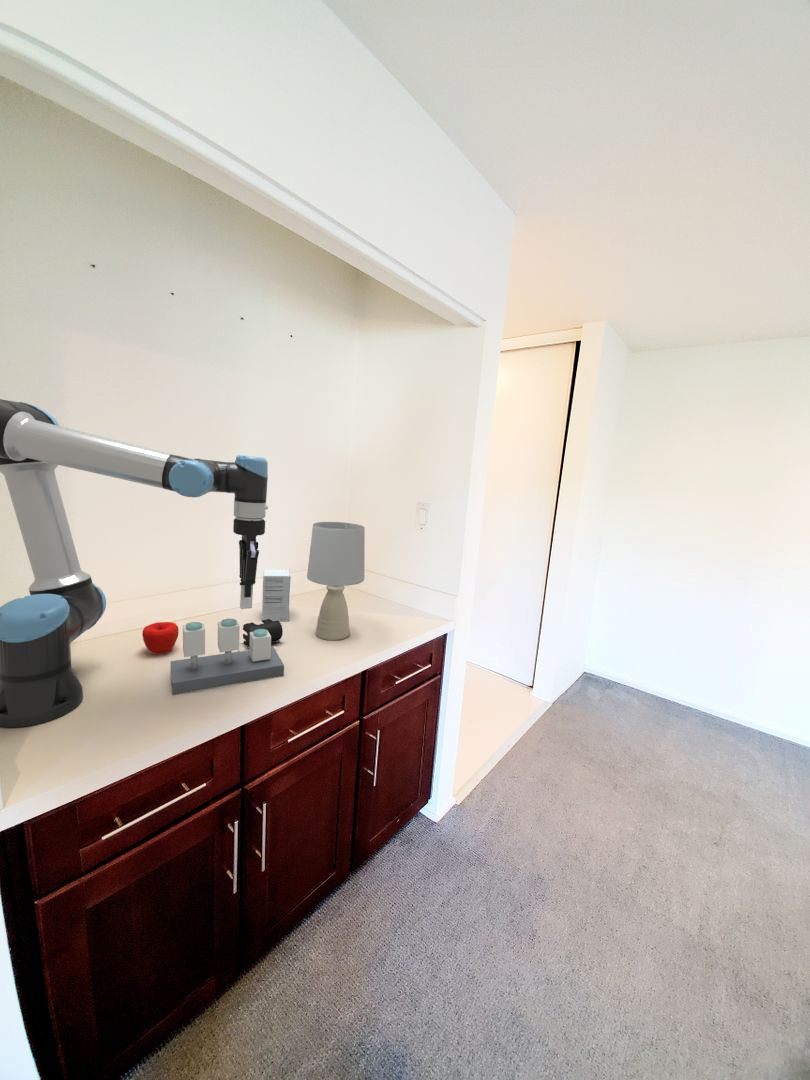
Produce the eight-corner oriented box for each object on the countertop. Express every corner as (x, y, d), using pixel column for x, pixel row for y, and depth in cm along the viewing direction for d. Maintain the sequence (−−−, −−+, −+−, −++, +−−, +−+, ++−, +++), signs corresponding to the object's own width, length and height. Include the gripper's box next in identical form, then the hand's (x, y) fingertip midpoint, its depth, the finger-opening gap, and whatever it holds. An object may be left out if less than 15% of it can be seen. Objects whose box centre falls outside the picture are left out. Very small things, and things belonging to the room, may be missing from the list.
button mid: (219, 652, 107) (220, 625, 106) (217, 645, 111) (217, 618, 110) (239, 649, 109) (239, 623, 108) (236, 642, 113) (236, 617, 112)
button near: (184, 657, 103) (184, 629, 102) (183, 649, 107) (182, 622, 105) (205, 654, 105) (205, 626, 104) (203, 646, 109) (203, 620, 108)
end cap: (251, 651, 125) (252, 630, 124) (241, 643, 130) (241, 622, 129) (282, 643, 132) (283, 623, 131) (271, 636, 137) (272, 616, 136)
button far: (252, 661, 112) (253, 635, 110) (249, 654, 115) (249, 629, 114) (270, 658, 114) (271, 633, 113) (266, 651, 118) (267, 627, 117)
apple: (167, 641, 127) (167, 616, 125) (185, 650, 122) (185, 624, 121) (136, 651, 119) (135, 625, 118) (153, 661, 115) (153, 633, 113)
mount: (172, 695, 100) (171, 663, 98) (170, 671, 110) (170, 642, 108) (283, 675, 113) (284, 647, 111) (273, 656, 123) (273, 630, 122)
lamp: (294, 639, 136) (298, 525, 129) (319, 620, 153) (324, 519, 147) (348, 649, 131) (356, 532, 125) (367, 629, 149) (375, 525, 143)
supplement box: (262, 612, 156) (263, 568, 153) (288, 612, 159) (289, 568, 156) (261, 622, 147) (262, 575, 144) (289, 621, 150) (290, 575, 147)
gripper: (271, 522, 103) (266, 615, 107) (259, 515, 114) (255, 598, 118) (238, 522, 99) (234, 617, 103) (229, 514, 110) (226, 600, 114)
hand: (246, 607), depth 110 cm, fingers closed
